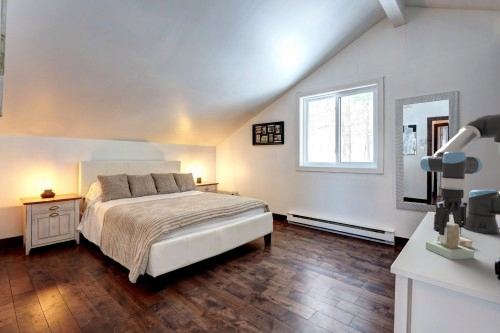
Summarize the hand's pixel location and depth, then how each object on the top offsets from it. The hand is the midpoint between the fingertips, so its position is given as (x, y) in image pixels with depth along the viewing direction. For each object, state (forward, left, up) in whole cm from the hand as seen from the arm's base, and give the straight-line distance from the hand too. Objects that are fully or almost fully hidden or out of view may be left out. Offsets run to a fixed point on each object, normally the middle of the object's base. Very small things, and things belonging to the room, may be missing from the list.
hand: (449, 241), depth 108 cm
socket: (0, 0, -5) cm, 5 cm away
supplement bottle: (-27, -29, -5) cm, 40 cm away
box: (0, 0, -3) cm, 3 cm away
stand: (-13, -9, -5) cm, 16 cm away
